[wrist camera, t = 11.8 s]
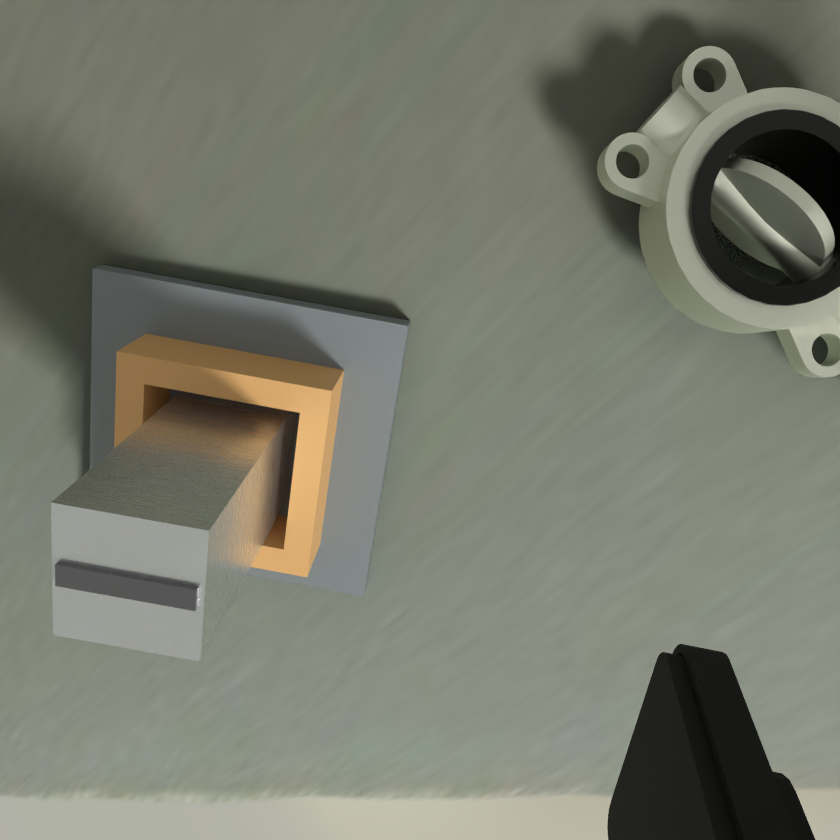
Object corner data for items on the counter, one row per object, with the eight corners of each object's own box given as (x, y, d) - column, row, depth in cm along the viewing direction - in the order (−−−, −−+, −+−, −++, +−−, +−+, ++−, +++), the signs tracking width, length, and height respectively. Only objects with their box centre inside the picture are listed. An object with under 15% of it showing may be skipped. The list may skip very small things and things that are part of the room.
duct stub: (296, 403, 35) (207, 533, 24) (285, 500, 37) (198, 665, 25) (188, 384, 35) (47, 505, 24) (183, 482, 37) (50, 638, 26)
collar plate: (410, 320, 34) (401, 343, 31) (366, 585, 39) (353, 633, 36) (103, 264, 35) (56, 280, 31) (97, 535, 40) (57, 577, 36)
